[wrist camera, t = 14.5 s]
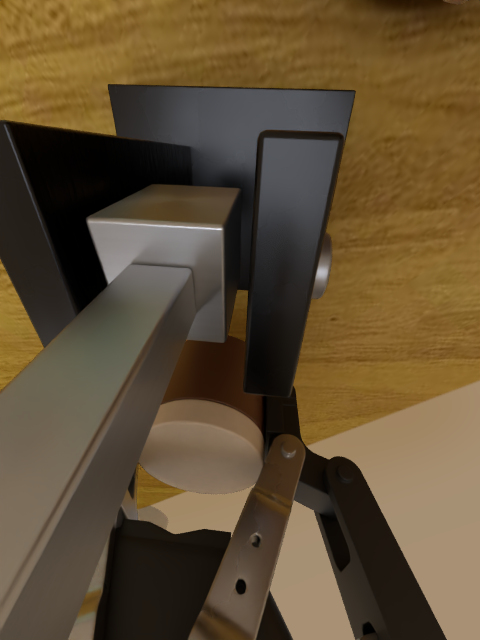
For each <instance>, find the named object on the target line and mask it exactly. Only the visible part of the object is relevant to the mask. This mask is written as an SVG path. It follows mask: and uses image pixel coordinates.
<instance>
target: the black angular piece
mask: <svg viewBox="0 0 480 640" xmlns="http://www.w3.org/2000/svg"><path fill="white" fill-rule="evenodd" d="M108 90H109V95H110V101H111V106H112V111H113V117H114V122H115V128H116V133H117V136H114V135H107V134H100V133H92V132H85V131H78V130H71V129H64V128H57V127H50V126H43V125H36V124H29V123H22V122H14V121H7V120H0V259H1V261H2V263H3V265H4V267H5V269H6V271H7V273H8V275H9V277H10V279H11V281H12V283H13V286H14V288H15V290H16V292H17V294H18V296H19V298H20V300H21V302H22V304H23V306H24V308H25V310H26V312H27V314H28V316H29V318H30V320H31V322H32V324H33V326H34V328H35V330H36V332H37V334H38V336H39V338H40V340H41V342H42V344H43V346H44V348H45V347H46V346H47V345H48V344H49V343H50V342H51V341H52V340H53V339H54V338H55V337H56V336H57V335H58V334H59V333H60V332H61V331H62V330H63V329H64V328H65V327H66V326H67V325H68V324H69V323H70V322H71V321H72V320H73V319H74V318H75V317H76V316H77V315H78V314H79V313H80V312H81V311H82V310H83V309H84V308H85V307H86V306H87V305H89V304H90V303H91V302H92V301H93V300H94V299H95V298H96V297H97V296H98V295H99V294H100V293H101V292H102V291H103V290H104V289H105V288H106V287H107V286H108V285H107V282H106V280H105V277H104V274H103V271H102V268H101V265H100V262H99V259H98V256H97V253H96V250H95V247H94V244H93V241H92V238H91V235H90V232H89V229H88V226H87V223H86V218H87V217H88V216H90V215H92V214H94V213H96V212H98V211H100V210H102V209H104V208H106V207H108V206H110V205H112V204H114V203H116V202H118V201H120V200H122V199H124V198H126V197H128V196H130V195H132V194H134V193H136V192H138V191H140V190H142V189H144V188H146V187H148V186H150V185H152V184H163V185H184V186H204V187H224V188H239V189H241V190H242V213H241V248H240V278H239V283H238V288H237V290H248V306H247V323H246V340H245V357H244V374H243V391H244V393H246V394H253V395H263V396H273V397H283V398H288V397H290V395H291V392H292V388H293V383H294V378H295V374H296V369H297V364H298V360H299V355H300V350H301V345H302V341H303V336H304V331H305V327H306V322H307V317H308V312H309V308H310V303H311V299H319V298H321V297H322V296H323V294H324V292H325V289H326V287H327V284H328V280H329V276H330V271H331V264H332V241H331V237H330V235H329V234H328V233H326V229H327V225H328V220H329V215H330V211H331V206H332V201H333V196H334V192H335V187H336V182H337V178H338V173H339V168H340V164H341V159H342V154H343V150H344V145H345V140H346V136H347V131H348V126H349V121H350V117H351V112H352V107H353V103H354V98H355V93H356V91H355V90H324V89H283V88H243V87H203V86H162V85H122V84H108Z"/></svg>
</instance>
